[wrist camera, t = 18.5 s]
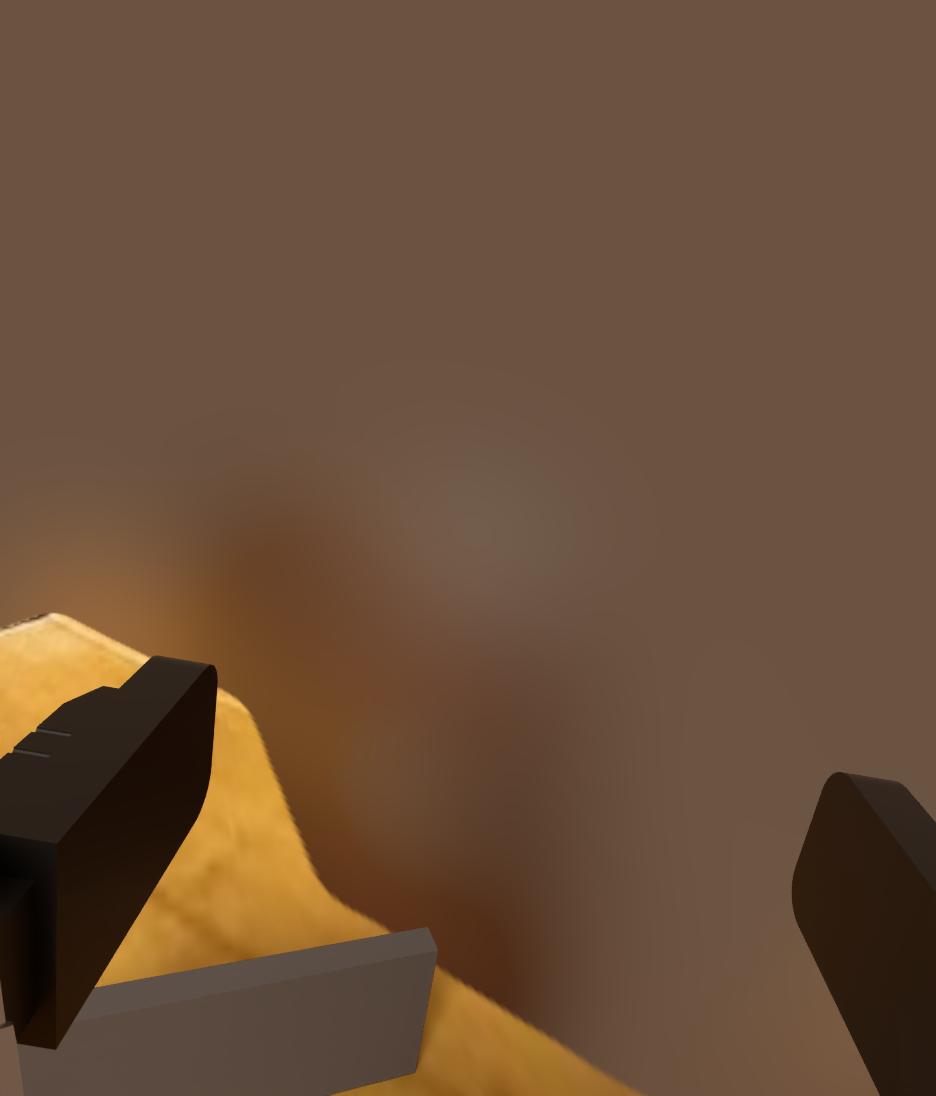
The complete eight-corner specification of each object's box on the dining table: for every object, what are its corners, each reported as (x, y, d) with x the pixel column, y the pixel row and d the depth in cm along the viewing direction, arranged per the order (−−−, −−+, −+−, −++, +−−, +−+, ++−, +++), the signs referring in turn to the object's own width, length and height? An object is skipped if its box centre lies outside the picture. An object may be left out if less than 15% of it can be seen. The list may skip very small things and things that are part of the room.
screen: (406, 1046, 41) (428, 927, 39) (415, 1072, 40) (438, 950, 38) (-36, 1155, 33) (-42, 1012, 31) (-42, 1192, 32) (-49, 1046, 29)
